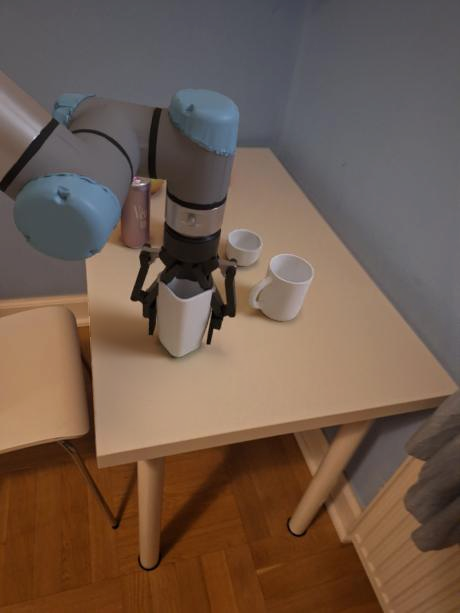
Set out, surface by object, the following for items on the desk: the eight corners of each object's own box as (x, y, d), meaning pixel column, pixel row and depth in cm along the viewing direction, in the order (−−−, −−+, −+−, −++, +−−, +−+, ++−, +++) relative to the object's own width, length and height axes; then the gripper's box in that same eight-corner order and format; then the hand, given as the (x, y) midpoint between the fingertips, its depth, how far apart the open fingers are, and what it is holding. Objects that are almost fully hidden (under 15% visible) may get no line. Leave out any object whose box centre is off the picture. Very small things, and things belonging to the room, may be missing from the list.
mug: (254, 332, 75) (266, 292, 68) (234, 301, 80) (243, 261, 72) (306, 316, 80) (322, 278, 73) (284, 289, 85) (297, 250, 77)
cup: (150, 337, 70) (152, 273, 60) (184, 321, 74) (192, 258, 64) (174, 366, 67) (180, 304, 56) (208, 348, 71) (221, 286, 60)
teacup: (261, 271, 87) (266, 251, 84) (226, 271, 86) (230, 251, 82) (251, 243, 94) (256, 223, 90) (219, 242, 92) (223, 222, 89)
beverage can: (142, 230, 91) (142, 168, 80) (154, 245, 88) (156, 182, 77) (116, 236, 88) (113, 172, 77) (128, 252, 85) (127, 188, 74)
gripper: (101, 224, 49) (110, 340, 65) (274, 254, 51) (242, 361, 67) (117, 193, 55) (122, 307, 71) (274, 221, 56) (244, 327, 72)
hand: (180, 333), depth 69 cm, fingers open, 9 cm apart
